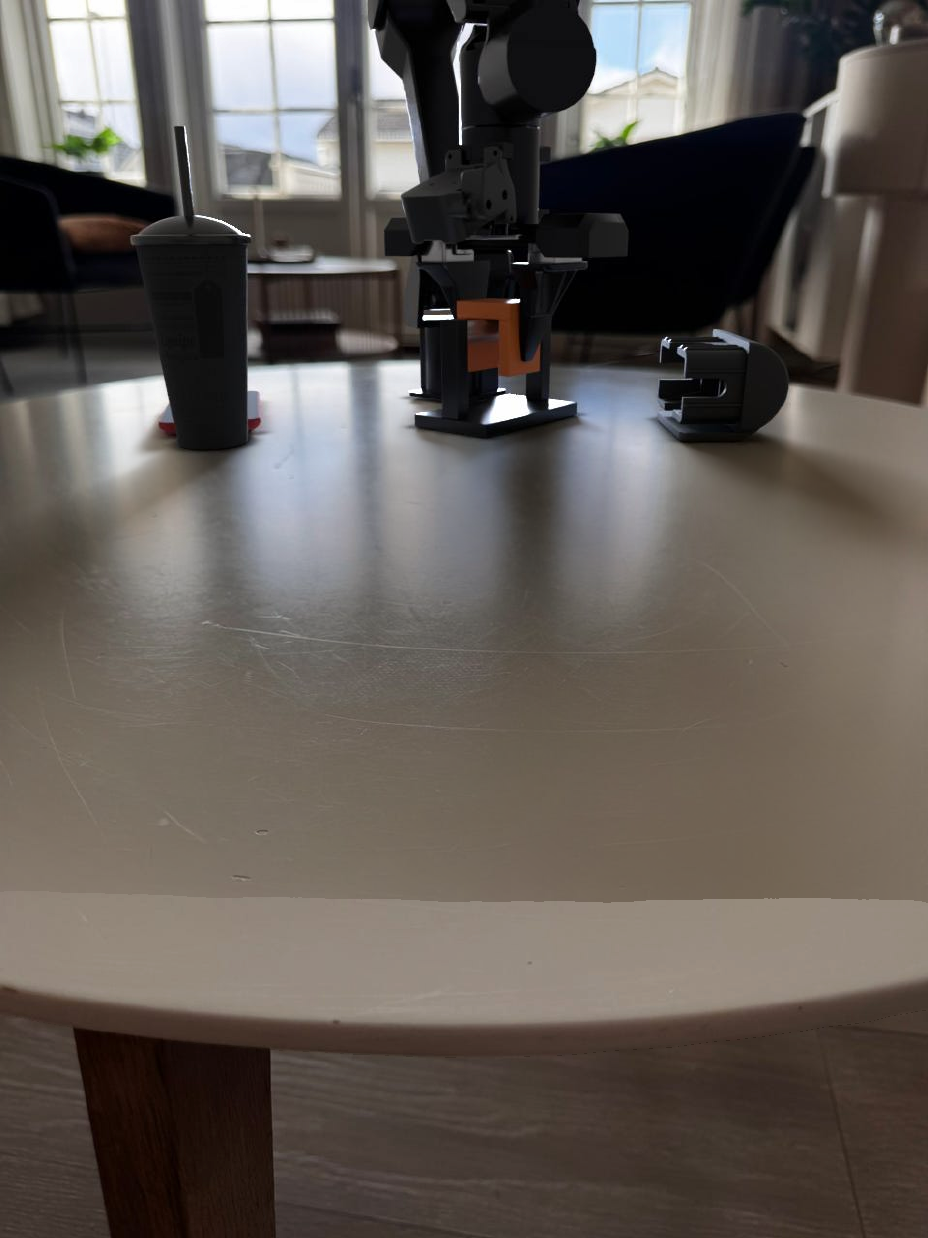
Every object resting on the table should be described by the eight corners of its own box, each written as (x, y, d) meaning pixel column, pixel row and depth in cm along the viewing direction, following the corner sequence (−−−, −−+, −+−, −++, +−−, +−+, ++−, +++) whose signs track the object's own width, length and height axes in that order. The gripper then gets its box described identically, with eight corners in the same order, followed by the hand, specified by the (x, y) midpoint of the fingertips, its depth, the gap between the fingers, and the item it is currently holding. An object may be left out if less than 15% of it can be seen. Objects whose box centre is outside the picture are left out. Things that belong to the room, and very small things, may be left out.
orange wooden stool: (457, 371, 72) (456, 300, 70) (488, 366, 74) (489, 298, 72) (509, 376, 69) (509, 303, 67) (539, 371, 71) (541, 300, 69)
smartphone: (259, 390, 82) (260, 418, 68) (260, 400, 82) (261, 430, 69) (173, 393, 81) (157, 423, 67) (174, 403, 81) (158, 435, 67)
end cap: (782, 442, 64) (795, 342, 62) (681, 443, 64) (689, 342, 62) (743, 416, 74) (753, 328, 71) (654, 417, 74) (660, 328, 71)
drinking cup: (287, 435, 68) (263, 129, 60) (231, 457, 61) (196, 116, 54) (198, 429, 70) (164, 134, 63) (135, 450, 64) (88, 122, 56)
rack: (414, 427, 71) (411, 317, 68) (508, 405, 79) (509, 307, 76) (486, 438, 67) (486, 322, 64) (577, 414, 75) (581, 311, 72)
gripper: (325, 131, 65) (338, 360, 71) (543, 107, 54) (537, 381, 60) (429, 141, 73) (433, 347, 79) (638, 123, 62) (625, 363, 68)
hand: (498, 358), depth 71 cm, fingers closed on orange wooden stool, 5 cm apart
